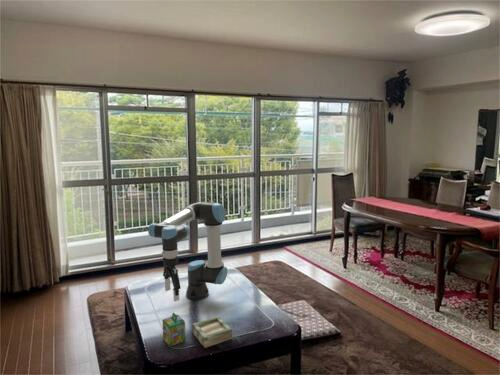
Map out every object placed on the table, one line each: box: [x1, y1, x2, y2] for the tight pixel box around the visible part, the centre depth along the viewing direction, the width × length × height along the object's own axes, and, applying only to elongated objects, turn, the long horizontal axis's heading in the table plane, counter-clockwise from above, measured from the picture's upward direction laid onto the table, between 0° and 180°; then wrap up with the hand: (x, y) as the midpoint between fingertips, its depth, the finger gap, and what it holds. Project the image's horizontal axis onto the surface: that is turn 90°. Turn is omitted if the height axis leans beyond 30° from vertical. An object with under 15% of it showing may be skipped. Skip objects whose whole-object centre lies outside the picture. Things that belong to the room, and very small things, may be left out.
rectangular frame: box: [192, 315, 233, 349], centre depth 196 cm, size 16×16×6 cm
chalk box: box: [161, 312, 186, 347], centre depth 192 cm, size 9×9×15 cm
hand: (172, 295), depth 189 cm, fingers open, 13 cm apart
